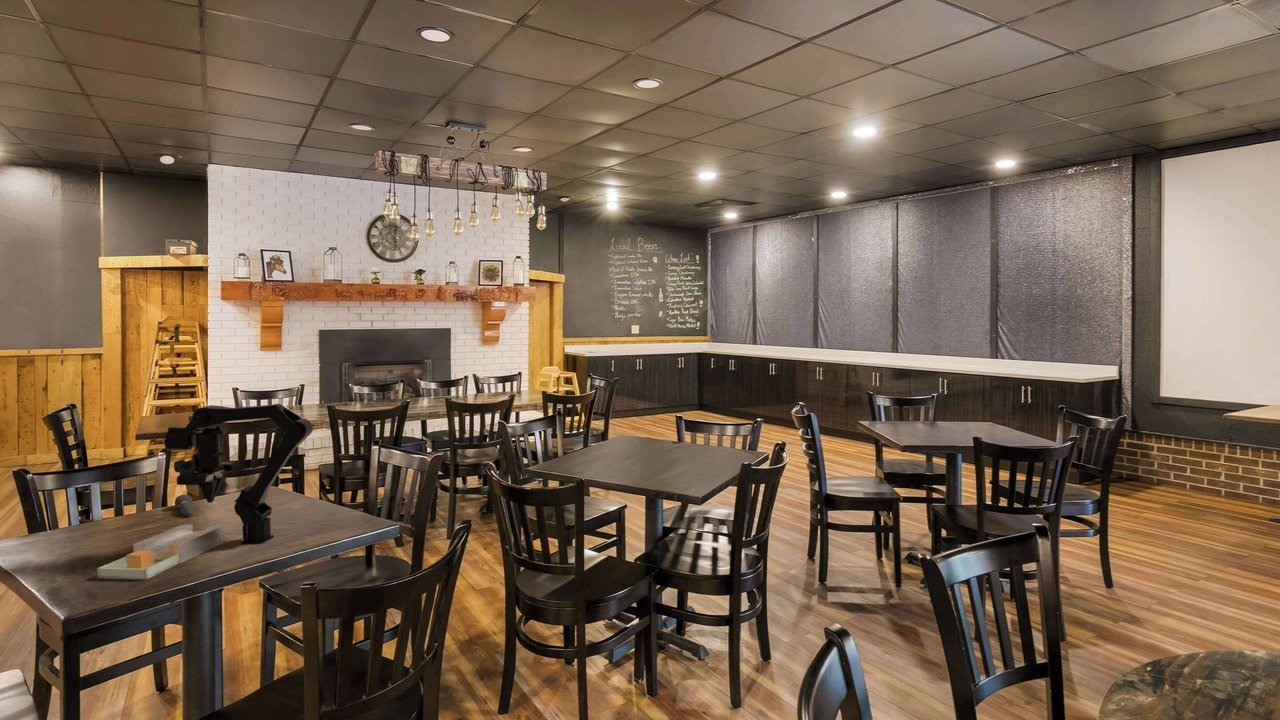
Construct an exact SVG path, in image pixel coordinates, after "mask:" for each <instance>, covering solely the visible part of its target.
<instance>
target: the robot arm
mask: <svg viewBox="0 0 1280 720" xmlns="http://www.w3.org/2000/svg"><path fill="white" fill-rule="evenodd" d="M191 417H192V418H191V420H190V421H189V422H188V424H187V425H186V426H170V427H167V432H166V434H165V438H164V441H163V443H164V447H165V449H166V451H168V452H169V451H170V452H171V451H172V452H173V451H192V450H193V448H194V447H196V452H195V453H193V454H192V455H191V457H192V458H191V459H190V460H184V459H180V460H176V461H174V463H173V470H174V472H175V473H179V474H178V476H177V477H176V485H177V486H199V488H200V490H201V491H202V493H203V496H204V497H205V500H206V502H207V503H211V504H212V503H214V501H215V498H216V496H217V494H218V493H219V490H220V489H221V487H222V485H223V483H224V481H225V480H226V479H228V478H227V475H223V473H224V472H225V473H226V472H231V474H234V473H238V472H240V464H238V462H236V461H221V456H223V455H224V451H222V450H221V445H220V443H221V441H220V438H221V437H220V435H223V434H225V433H228V429H226V428H225V427H223V426H222V424H223V423H228V422H233V421H234V422H236V421H237V422H238V421H248V420H258V419H259V420H260V419H262V420H263V419H271V420H272V421H274V422H275V424H276V425H277V426H278V428H280V429H281V430H282V431H284V432H283V434H282V436H281V441H280V443H279V446H278V447H277V449H276V451H275V452H274V454H273V455H272V456H271V457H270V459H269V462H268V463H267V464H266V466H265V467H264V469H263V470H262V472H261V473H260V475H259V477H258V478H257V480H256V481H255V483H254V484H253V485H252V484H250V485H248V486H246V487H244V488H243V489H241V491H240V493H239V496H238V497H237V498H236V499H235V500H234V501H233V502H234V503H235V504H234V507H233V510H234V512H235V514H236V515H237V516H239V518H240V520H241V522H242V524H243V525H242V540H240V543H241V544H262V543H264V542H265V543H266V542H267V541H269V540H270V539H272V538H274V537H275V535H274V534H272V532H271V528H272V527H271V518H270V516H271V514H272V512H273V508H272V507H271V506H270V505H269V504H267V503H266V500H267V496H268V492H269V490H270V488H271V486H272V485H273V483H274V482H275V480H276V478H277V477H278V476H279V474H280V472H281V471H282V470H283V468H284V466H285V465H286V463H287V462H288V460H289V459H290V457H291V456H292V454H293V452H295V450H296V449H297V448H298V447H299V446H300V445H301V444H302V443H303V442H305V440H306V439H307V438H308V437H309V436H310V435H311V434H312V432H313V429H314V428H313V424H312V422H311V421H310V420H308V419H306V418H302V417H301V416H300V415H298V414H297V413H295V412H293V411H291V410H290V409H288V408H287V407H285V406H284V405H283V404H281V403H274V404H266V405H263V404H262V405H253V406H252V405H251V406H238V407H237V406H236V407H228V406H223V405H211V404H209V405H206V406H203V407H199V408H198V407H197V408H196V409H195V410H194V411H193V413H192V416H191ZM212 426H216V427H212ZM203 428H204V429H203ZM200 429H203V430H202V431H201V430H200ZM197 430H200V431H197Z"/></svg>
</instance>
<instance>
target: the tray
mask: <svg viewBox="0 0 1280 720" xmlns="http://www.w3.org/2000/svg"><path fill="white" fill-rule="evenodd" d="M179 564H180V563H179V557H178V555H175V556H172V557H170V558H168V559H166V560H164V561H154V565H152V566H150V567H148V568H146V569H133V568H127V555H126V556H123V557H121V558H119V559H117V560H114V561H112V562H110V563H109V562H108V563H107V564H105V565H103V566H99V567H97V568H96V578H97V579H105V580H106V579H107V580H108V579H111V580H114V579H115V580H117V579H118V580H148V579H150V578H152V577H154V576H157V575H158V574H161V573H162V572H165V571H167V570H169V569H171V568H173V567H175V566H178V565H179Z"/></svg>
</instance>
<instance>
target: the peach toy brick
mask: <svg viewBox="0 0 1280 720" xmlns="http://www.w3.org/2000/svg"><path fill="white" fill-rule="evenodd" d="M126 556H127V568H133V569H146V568H148V567H150V566H152V565H154V550H138V551H136V552H134V551H133V552H131V553H128V554H126Z"/></svg>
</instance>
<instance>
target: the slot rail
mask: <svg viewBox="0 0 1280 720" xmlns="http://www.w3.org/2000/svg"><path fill="white" fill-rule="evenodd" d="M193 527H194V526H193V524H181V525H179V526H176V527H173V528H171V529H167V530H166V531H163V532H161V533H158V534H155V535H152V536H150V537H148V538H146V539H143V540H140V541H138V542H135V543H133V552H136V551H138V550H154V561H164V560H166V559H168V558H170V557H172V556H175V555H178V557H179V564H182V563H184V562H186V561H188V560H190V559H192V558H195V557H197V556H199V555H201V554H203V553H206V552H207V551H209V550H212V549H214V548H215V547H217V546H220V545H222V544H225V543H226V541H227V540H226V525H225V524H215V525H212V526H210V527H207V528H205V529H203V530H200V531H198V530H197V531H194V528H193Z"/></svg>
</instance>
